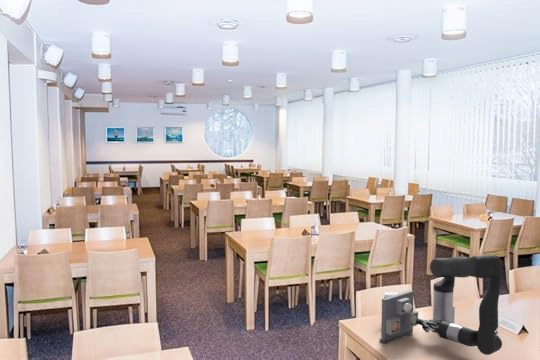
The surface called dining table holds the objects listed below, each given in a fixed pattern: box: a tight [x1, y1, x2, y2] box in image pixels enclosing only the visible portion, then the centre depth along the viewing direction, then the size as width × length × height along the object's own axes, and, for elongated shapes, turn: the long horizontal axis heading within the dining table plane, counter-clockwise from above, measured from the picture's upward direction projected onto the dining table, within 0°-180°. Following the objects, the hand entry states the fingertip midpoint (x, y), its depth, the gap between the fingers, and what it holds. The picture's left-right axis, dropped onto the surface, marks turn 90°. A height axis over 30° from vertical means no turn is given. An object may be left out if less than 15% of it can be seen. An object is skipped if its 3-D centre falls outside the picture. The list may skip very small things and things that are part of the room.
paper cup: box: [383, 291, 399, 299], centre depth 243 cm, size 8×8×14 cm
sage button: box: [411, 315, 417, 324], centre depth 224 cm, size 2×4×4 cm, turn 129°
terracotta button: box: [392, 322, 399, 331], centre depth 215 cm, size 2×4×4 cm, turn 129°
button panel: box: [379, 290, 419, 345], centre depth 220 cm, size 6×21×20 cm, turn 129°
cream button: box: [402, 302, 412, 313], centre depth 217 cm, size 2×4×4 cm, turn 129°
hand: (417, 320), depth 221 cm, fingers closed
